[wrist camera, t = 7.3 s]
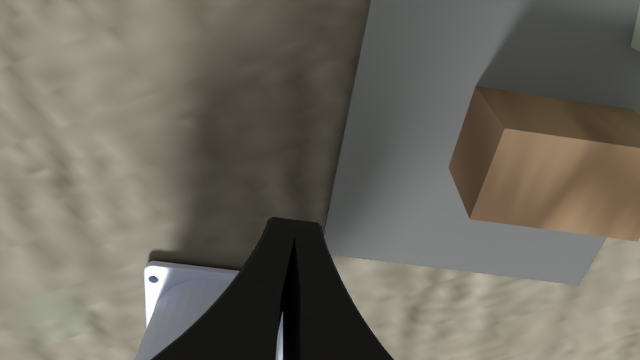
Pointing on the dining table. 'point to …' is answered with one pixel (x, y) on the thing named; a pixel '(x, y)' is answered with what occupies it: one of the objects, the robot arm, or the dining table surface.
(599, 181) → the walnut block
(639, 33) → the sage block
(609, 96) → the mat
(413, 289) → the dining table surface
